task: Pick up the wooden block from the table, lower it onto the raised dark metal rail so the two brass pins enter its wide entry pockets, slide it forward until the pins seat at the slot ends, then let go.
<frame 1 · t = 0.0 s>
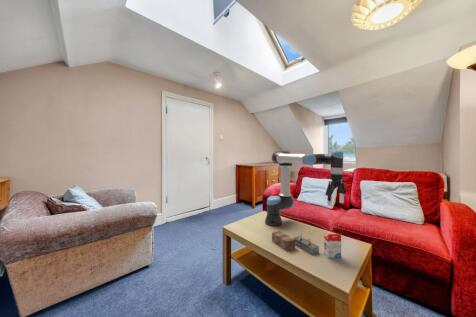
hand: (335, 204, 124), 28 cm above the table, fingers open, 13 cm apart
rail: (305, 247, 120), on the table
ink box: (332, 255, 111), on the table
wooden block: (283, 244, 124), on the table
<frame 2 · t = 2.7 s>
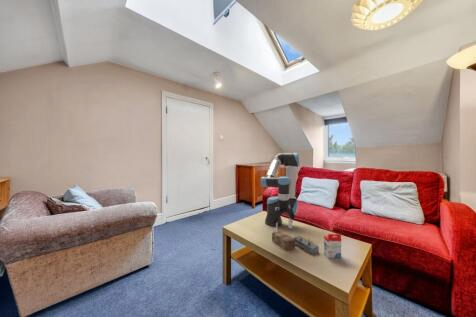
hand: (283, 229, 124), 10 cm above the table, fingers open, 13 cm apart
nothing on the table moved.
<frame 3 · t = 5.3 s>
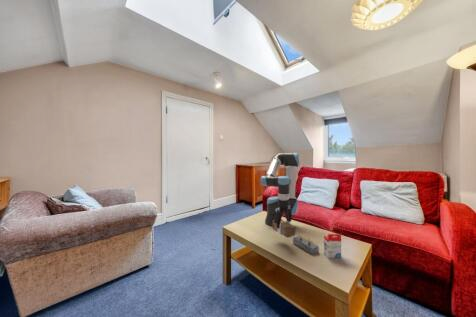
hand: (283, 231, 125), 9 cm above the table, fingers closed on wooden block, 7 cm apart
wooden block: (283, 231, 125), point 9 cm above the table, touching gripper
everything else where it was.
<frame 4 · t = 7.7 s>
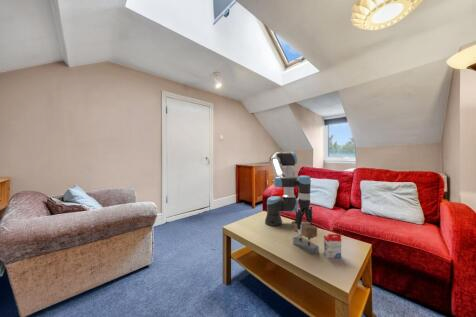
hand: (303, 232, 121), 10 cm above the table, fingers closed on wooden block, 7 cm apart
wooden block: (303, 233, 121), point 9 cm above the table, touching gripper
everything else where it was.
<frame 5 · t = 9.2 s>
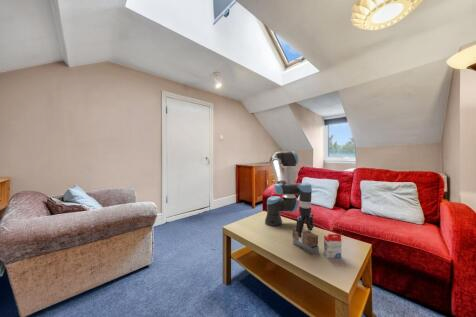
hand: (304, 240, 120), 5 cm above the table, fingers closed on wooden block, 7 cm apart
wooden block: (304, 240, 120), point 4 cm above the table, touching gripper
everything else where it was.
when the fingers open (5 cm above the table, at t = 10.6 s): wooden block stays where it is, resting on rail.
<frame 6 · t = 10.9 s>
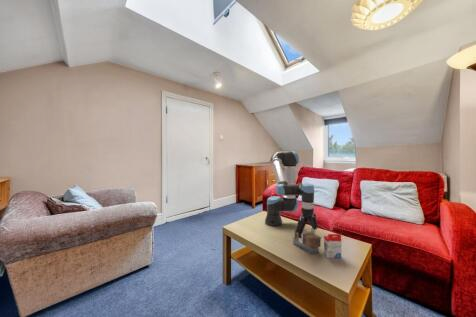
hand: (307, 240, 119), 6 cm above the table, fingers open, 11 cm apart
wooden block: (307, 242, 119), point 4 cm above the table, touching rail
everything else where it was.
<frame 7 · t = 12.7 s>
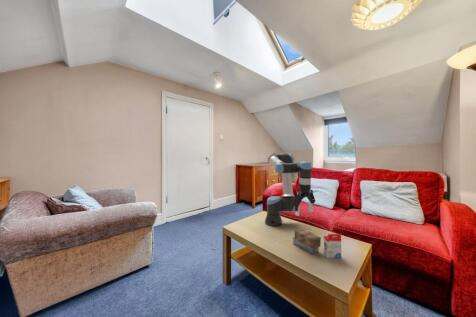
hand: (304, 213, 126), 21 cm above the table, fingers open, 13 cm apart
nothing on the table moved.
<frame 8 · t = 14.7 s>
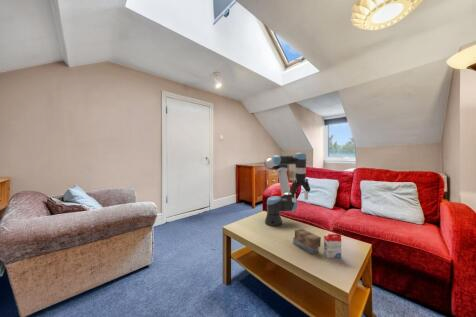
hand: (300, 200, 137), 27 cm above the table, fingers open, 13 cm apart
nothing on the table moved.
at the end: wooden block 0.2 cm from the target spot on the rail, point 4.0 cm above the rail's base; wooden block tilted 0°; the gripper is holding nothing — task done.
